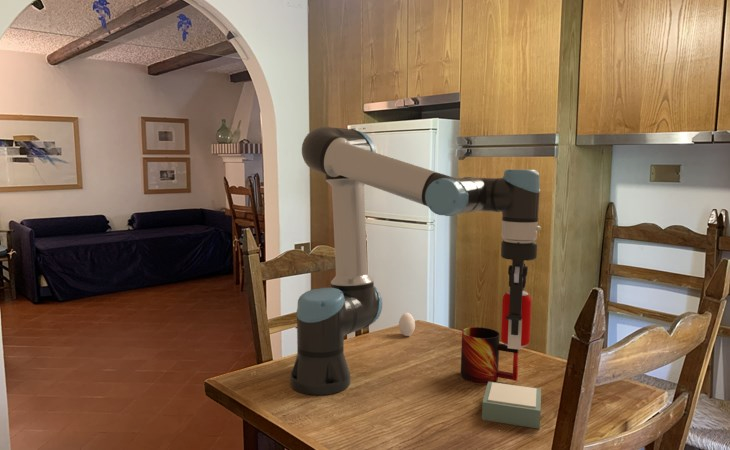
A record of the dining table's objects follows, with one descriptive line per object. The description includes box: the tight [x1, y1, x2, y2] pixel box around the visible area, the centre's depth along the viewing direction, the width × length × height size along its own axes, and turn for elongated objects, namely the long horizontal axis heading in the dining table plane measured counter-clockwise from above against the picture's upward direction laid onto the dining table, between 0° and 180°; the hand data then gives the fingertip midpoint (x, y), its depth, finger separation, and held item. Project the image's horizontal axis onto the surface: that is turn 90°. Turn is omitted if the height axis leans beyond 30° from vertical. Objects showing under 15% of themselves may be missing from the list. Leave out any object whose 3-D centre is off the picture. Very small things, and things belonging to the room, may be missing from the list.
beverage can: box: [500, 289, 532, 349], centre depth 117 cm, size 6×6×12 cm
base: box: [481, 381, 542, 430], centre depth 119 cm, size 12×12×4 cm
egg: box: [398, 312, 416, 337], centre depth 173 cm, size 5×5×8 cm
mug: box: [460, 326, 519, 385], centre depth 139 cm, size 10×14×12 cm
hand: (515, 343), depth 118 cm, fingers closed on beverage can, 6 cm apart
